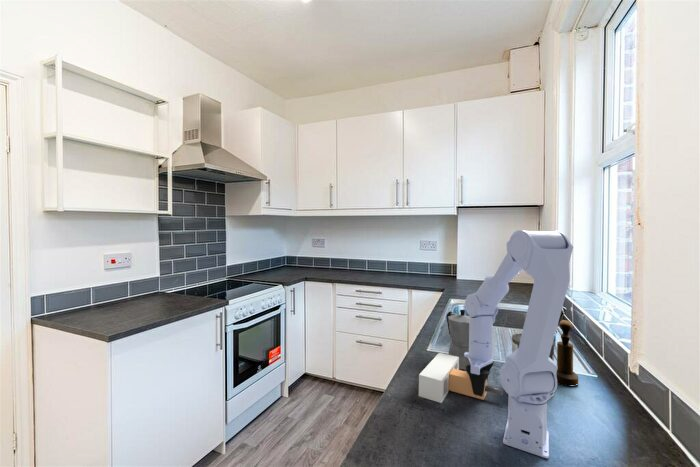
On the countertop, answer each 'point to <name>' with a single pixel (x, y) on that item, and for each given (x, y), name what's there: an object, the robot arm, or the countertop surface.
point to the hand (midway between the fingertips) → (479, 390)
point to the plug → (467, 385)
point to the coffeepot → (459, 336)
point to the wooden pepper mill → (565, 357)
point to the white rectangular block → (437, 377)
